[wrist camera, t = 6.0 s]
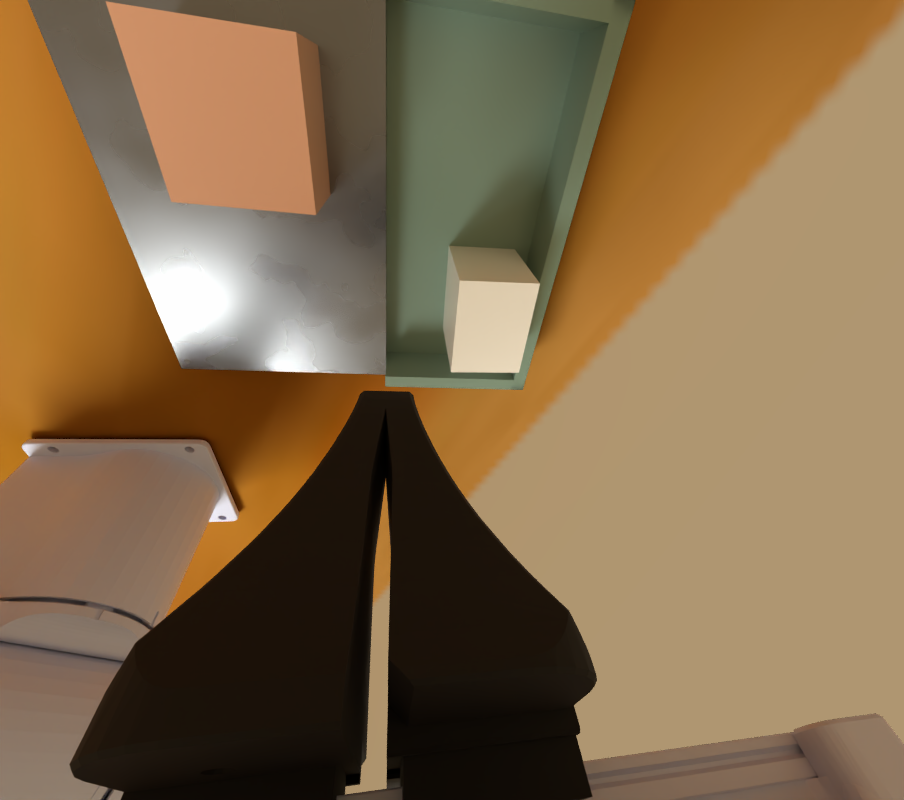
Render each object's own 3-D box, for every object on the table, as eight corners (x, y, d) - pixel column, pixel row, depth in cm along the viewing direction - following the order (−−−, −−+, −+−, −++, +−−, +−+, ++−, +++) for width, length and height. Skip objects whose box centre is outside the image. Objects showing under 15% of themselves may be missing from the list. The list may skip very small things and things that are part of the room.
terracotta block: (212, 183, 13) (171, 202, 11) (170, 22, 10) (105, 1, 8) (330, 195, 14) (315, 214, 11) (317, 45, 11) (296, 32, 9)
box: (387, 358, 20) (385, 386, 18) (387, -29, 11) (384, -55, 9) (511, 362, 21) (522, 389, 19) (599, 12, 12) (636, -4, 10)
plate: (195, 351, 19) (181, 368, 17) (25, -98, 10) (-25, -124, 9) (387, 358, 20) (386, 374, 19) (387, -29, 11) (385, -43, 10)
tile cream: (451, 372, 16) (519, 372, 16) (459, 280, 13) (540, 283, 14) (442, 327, 19) (500, 328, 19) (448, 245, 16) (514, 249, 17)
